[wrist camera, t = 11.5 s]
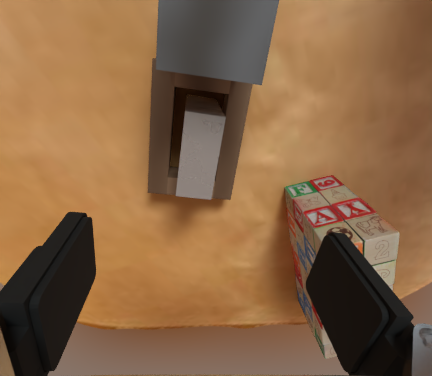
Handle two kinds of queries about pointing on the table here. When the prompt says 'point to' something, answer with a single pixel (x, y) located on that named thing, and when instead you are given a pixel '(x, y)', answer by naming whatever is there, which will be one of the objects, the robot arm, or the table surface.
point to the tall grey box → (200, 147)
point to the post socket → (206, 75)
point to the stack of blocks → (339, 223)
